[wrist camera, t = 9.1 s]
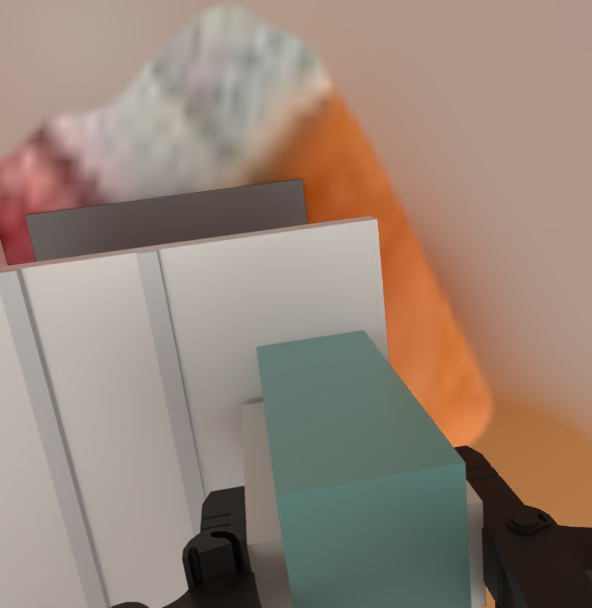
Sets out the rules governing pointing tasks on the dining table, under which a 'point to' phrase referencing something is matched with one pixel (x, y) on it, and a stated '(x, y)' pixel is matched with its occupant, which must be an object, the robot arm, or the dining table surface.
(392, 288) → the dining table surface
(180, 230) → the mat
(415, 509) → the lid
